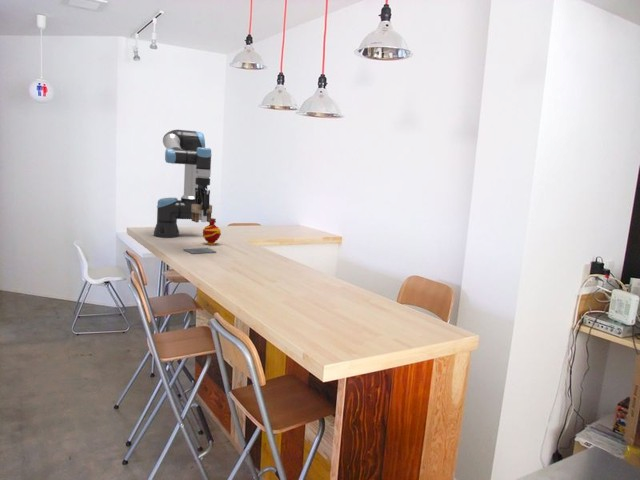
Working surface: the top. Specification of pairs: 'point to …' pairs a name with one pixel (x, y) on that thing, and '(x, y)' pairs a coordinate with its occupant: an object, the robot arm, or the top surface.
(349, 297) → the top surface
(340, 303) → the top surface
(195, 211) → the footstool
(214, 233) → the potion bottle
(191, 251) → the mat
